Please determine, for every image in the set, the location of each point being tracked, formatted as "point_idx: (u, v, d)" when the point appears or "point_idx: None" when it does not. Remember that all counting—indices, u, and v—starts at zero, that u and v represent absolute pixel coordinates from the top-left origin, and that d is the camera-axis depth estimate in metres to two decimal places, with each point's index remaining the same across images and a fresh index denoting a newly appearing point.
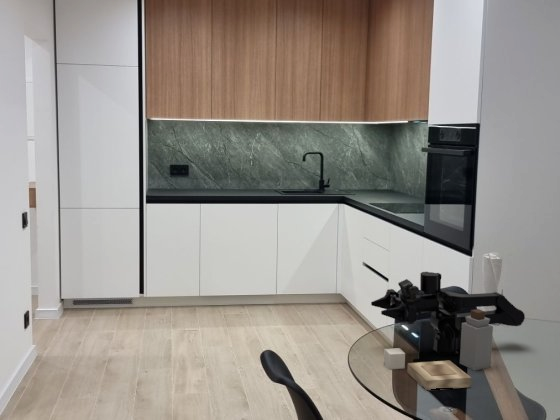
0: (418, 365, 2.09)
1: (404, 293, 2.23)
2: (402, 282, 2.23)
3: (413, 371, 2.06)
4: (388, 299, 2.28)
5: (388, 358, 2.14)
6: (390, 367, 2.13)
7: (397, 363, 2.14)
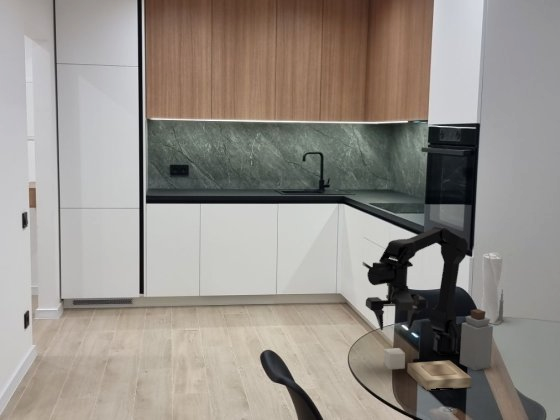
0: (418, 365, 2.09)
1: None
2: (404, 308, 2.06)
3: (413, 371, 2.06)
4: None
5: (388, 358, 2.14)
6: (390, 367, 2.13)
7: (397, 363, 2.14)
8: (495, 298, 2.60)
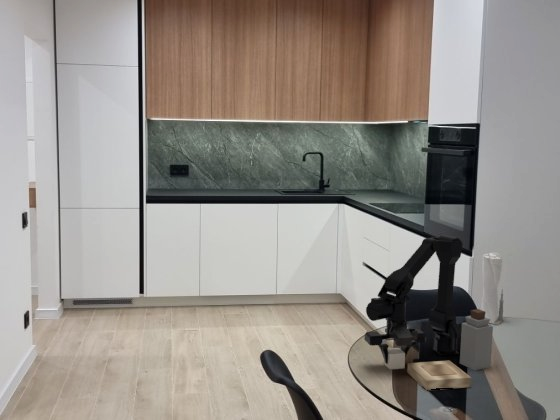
0: (418, 365, 2.09)
1: None
2: (403, 343, 2.07)
3: (413, 371, 2.06)
4: None
5: (388, 358, 2.14)
6: (390, 367, 2.13)
7: (397, 363, 2.14)
8: (495, 298, 2.60)
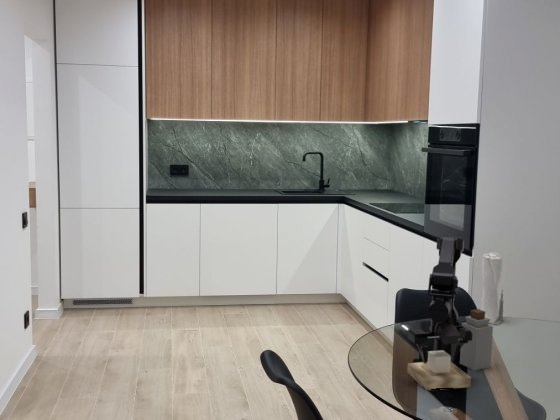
0: (418, 365, 2.09)
1: None
2: (450, 341, 1.96)
3: (413, 371, 2.06)
4: None
5: (433, 361, 2.03)
6: (435, 370, 2.02)
7: (442, 367, 2.03)
8: (495, 298, 2.60)
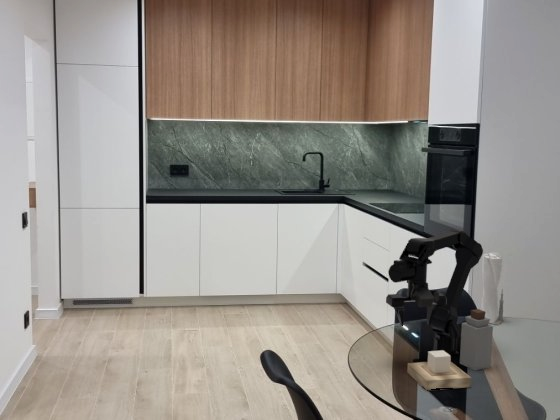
0: (418, 365, 2.09)
1: None
2: (425, 304, 2.10)
3: (413, 371, 2.06)
4: None
5: (433, 361, 2.03)
6: (435, 370, 2.02)
7: (442, 367, 2.03)
8: (495, 298, 2.60)
